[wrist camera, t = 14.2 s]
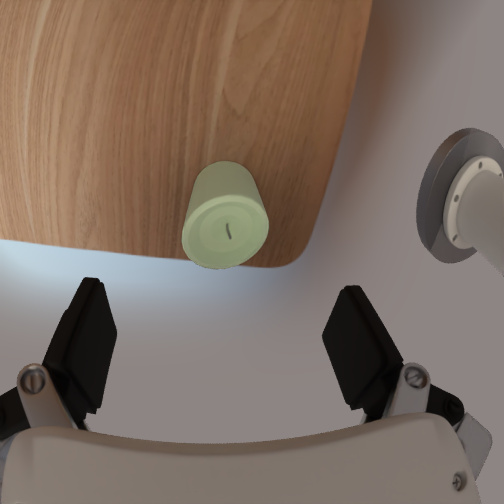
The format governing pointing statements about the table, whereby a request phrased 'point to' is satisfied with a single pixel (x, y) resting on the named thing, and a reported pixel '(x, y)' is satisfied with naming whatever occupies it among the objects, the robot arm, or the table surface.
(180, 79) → the table surface
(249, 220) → the candle
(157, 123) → the table surface
